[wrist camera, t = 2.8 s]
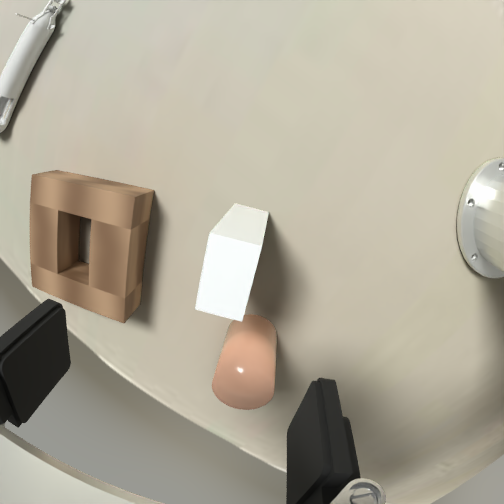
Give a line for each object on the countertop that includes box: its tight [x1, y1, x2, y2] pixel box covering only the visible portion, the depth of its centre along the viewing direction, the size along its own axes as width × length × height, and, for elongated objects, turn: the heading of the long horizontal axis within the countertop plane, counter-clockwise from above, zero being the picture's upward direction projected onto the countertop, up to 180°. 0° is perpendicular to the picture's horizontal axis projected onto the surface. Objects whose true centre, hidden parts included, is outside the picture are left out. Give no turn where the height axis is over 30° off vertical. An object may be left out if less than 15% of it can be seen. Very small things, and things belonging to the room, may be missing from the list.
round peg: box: [212, 314, 277, 410], centre depth 27 cm, size 5×5×8 cm
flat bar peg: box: [195, 203, 269, 322], centre depth 23 cm, size 3×5×10 cm, turn 167°
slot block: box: [30, 170, 154, 323], centre depth 27 cm, size 12×12×4 cm
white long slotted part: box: [0, 0, 66, 133], centre depth 21 cm, size 18×5×7 cm, turn 145°
